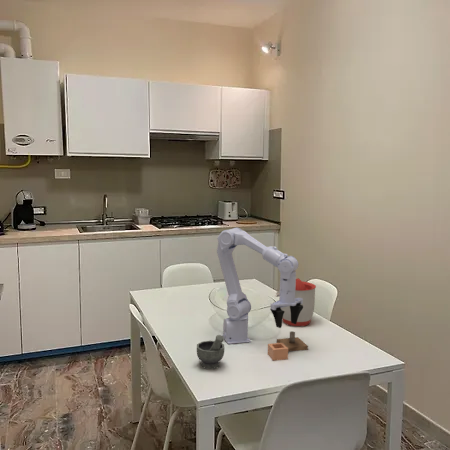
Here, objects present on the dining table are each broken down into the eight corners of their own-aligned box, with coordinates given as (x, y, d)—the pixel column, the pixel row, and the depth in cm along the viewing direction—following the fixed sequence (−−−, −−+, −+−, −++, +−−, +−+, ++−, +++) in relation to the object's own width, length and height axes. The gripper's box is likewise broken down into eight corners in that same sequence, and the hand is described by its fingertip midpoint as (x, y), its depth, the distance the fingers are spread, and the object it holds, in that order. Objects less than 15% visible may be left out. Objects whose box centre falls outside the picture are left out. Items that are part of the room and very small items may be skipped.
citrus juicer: (273, 316, 210) (274, 273, 208) (311, 317, 210) (313, 274, 207) (276, 328, 195) (277, 282, 192) (317, 329, 194) (319, 283, 192)
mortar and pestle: (190, 363, 158) (191, 330, 157) (212, 357, 164) (212, 324, 163) (210, 375, 150) (210, 340, 148) (232, 368, 155) (233, 334, 154)
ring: (273, 360, 162) (273, 349, 161) (267, 354, 167) (267, 343, 167) (287, 359, 163) (288, 348, 163) (281, 353, 169) (282, 342, 168)
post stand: (285, 351, 170) (285, 337, 169) (276, 342, 178) (276, 329, 178) (307, 349, 172) (308, 335, 172) (297, 340, 181) (298, 327, 180)
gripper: (280, 295, 161) (279, 332, 163) (309, 289, 170) (307, 324, 171) (267, 290, 167) (266, 326, 169) (295, 285, 175) (294, 319, 177)
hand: (286, 325), depth 170 cm, fingers open, 7 cm apart
